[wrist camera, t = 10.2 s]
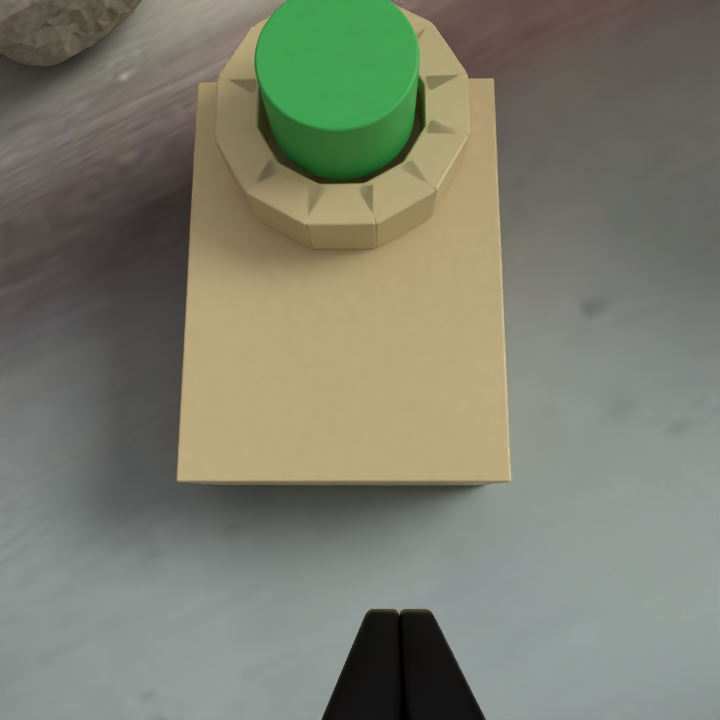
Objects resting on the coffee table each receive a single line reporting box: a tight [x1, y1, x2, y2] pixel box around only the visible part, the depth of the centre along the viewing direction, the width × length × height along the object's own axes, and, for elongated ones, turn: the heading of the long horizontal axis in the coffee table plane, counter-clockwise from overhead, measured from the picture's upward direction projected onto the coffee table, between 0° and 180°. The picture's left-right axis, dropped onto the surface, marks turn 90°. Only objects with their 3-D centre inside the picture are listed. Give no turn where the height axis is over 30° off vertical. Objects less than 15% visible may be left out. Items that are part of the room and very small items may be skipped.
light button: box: [254, 0, 420, 180], centre depth 18 cm, size 4×4×3 cm
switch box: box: [176, 5, 511, 485], centre depth 21 cm, size 13×9×6 cm
